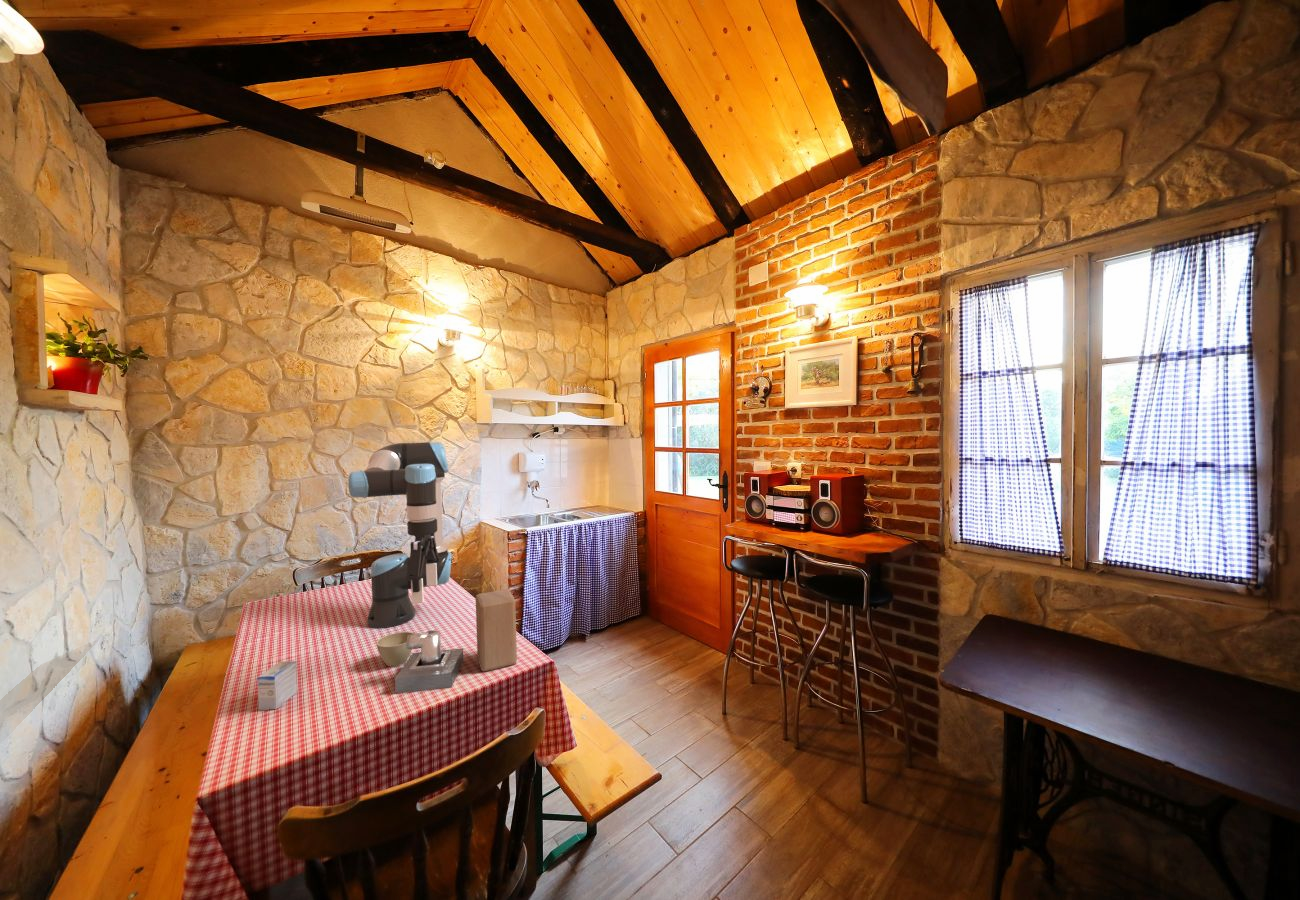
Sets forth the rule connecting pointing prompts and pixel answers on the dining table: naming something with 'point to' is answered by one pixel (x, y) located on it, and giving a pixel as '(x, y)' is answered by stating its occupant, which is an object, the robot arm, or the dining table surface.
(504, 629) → the block
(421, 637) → the elbow
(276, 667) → the medicine box
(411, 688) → the duct socket
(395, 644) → the flower pot
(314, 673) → the dining table surface
